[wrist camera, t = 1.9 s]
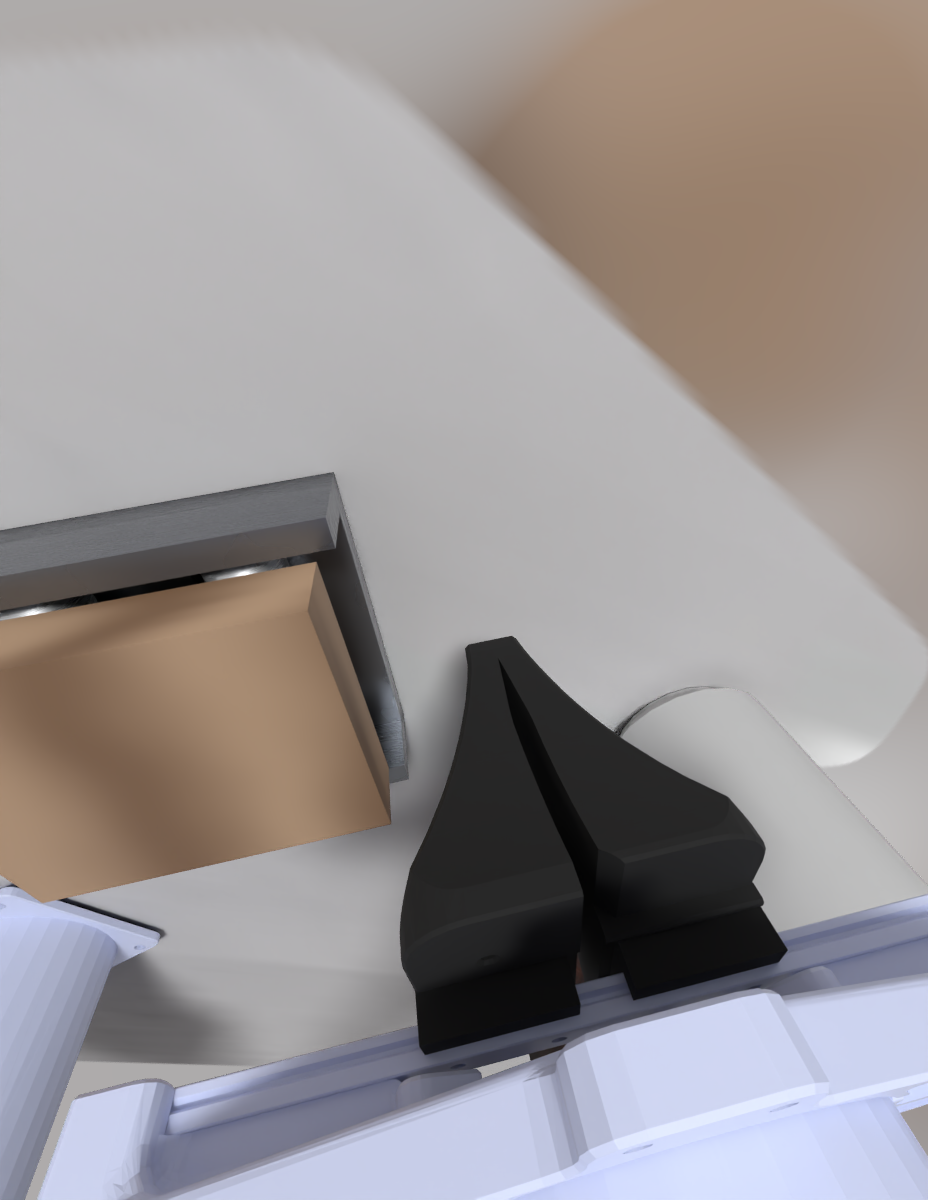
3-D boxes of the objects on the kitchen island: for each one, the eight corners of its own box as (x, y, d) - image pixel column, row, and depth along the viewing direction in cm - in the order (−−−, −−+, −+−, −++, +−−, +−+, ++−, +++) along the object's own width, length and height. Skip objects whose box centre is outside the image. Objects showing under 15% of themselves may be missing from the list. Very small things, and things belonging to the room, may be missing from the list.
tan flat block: (316, 561, 11) (307, 611, 9) (388, 767, 16) (390, 824, 14) (-139, 646, 10) (-233, 715, 9) (77, 835, 15) (42, 903, 13)
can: (569, 762, 23) (723, 1131, 13) (680, 651, 20) (994, 1026, 10) (671, 791, 26) (857, 1106, 16) (781, 700, 23) (1093, 1021, 13)
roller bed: (333, 472, 13) (312, 589, 8) (403, 714, 19) (415, 867, 14) (-473, 612, 12) (-1074, 854, 7) (-130, 826, 17) (-324, 1040, 13)
